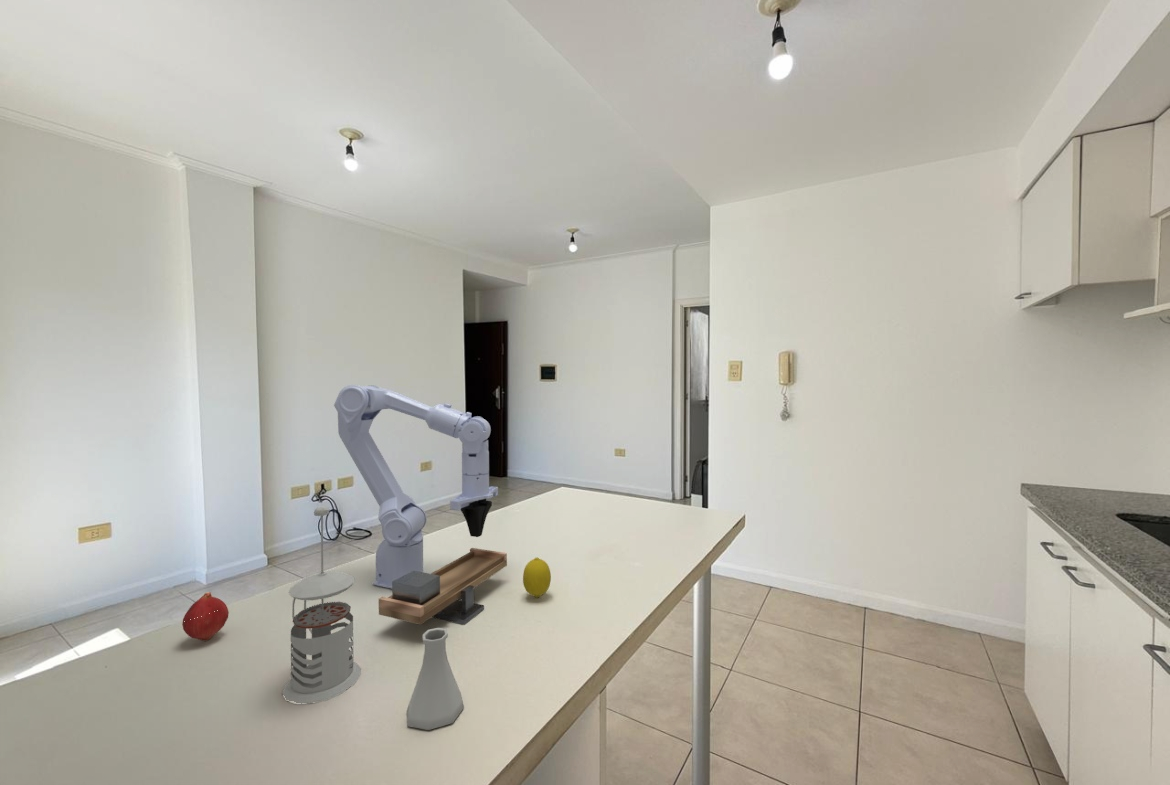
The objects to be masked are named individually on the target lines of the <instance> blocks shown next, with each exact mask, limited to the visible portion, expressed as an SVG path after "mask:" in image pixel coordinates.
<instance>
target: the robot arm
mask: <svg viewBox="0 0 1170 785" xmlns="http://www.w3.org/2000/svg"><path fill="white" fill-rule="evenodd" d="M333 407H334V408H335V409H336V411H337V427H338V428H337V430H338V432H337V433H338V436H339V438H340V440H341V441H342V443H343V445H344V447H345V448H346V450H347V451H348V454H349V455H350V458H352V461H353V462H354V464H355V466H356V468H357V469H358V472H359V473H360V475H361V476H362V478H363V480H364V481H365V482H364V483H366V485H367V487H368V489H369V490H370V492H371V494H372V496H373V497H374V499H375V502H376V503H377V504H378V506H379V509H378V510H379V511H378V517H377V518H378V521H379V522H380V525H381V533H382V536H383V540H381V542H380V544H378V546H377V549H376V552H375V580H374V581H373V582H372V585H373V586H377V587H382V588H387V589H391V590H392V581H394V580H396V579H398V578H400V577H402V576H404V575H406V574H408V573H410V572H412V571H418V572H424V535H423V534H422V530H423V529H424V528H425V526H426V524H427V518H428V516H427V514H426V512H425V510H424V509H423V508H422V507H421V506H419V505H417V504H416V502H415V501H414V499H413V498H412V497H411V496H410V495H408V494H406V493H404V492H403V490H402V487H401V486H400V484H399V482H398V481H397V478H396V477H395V476H394V474H393V472H392V471H391V468H390V467H389V465H388V463H387V462H386V460H385V458H384V456H383V454H382V452H381V451H380V449H379V447H378V446H377V444H376V442H375V441H374V439H373V437H372V435H371V433H370V428H371V427H372V424H373V421H374V419H375V418H376V417H377V416H378V415H379V414H380V413H381V411H382V410H388V409H389V410H393V411H396V412H399V413H402V414H405V415H408V416H410V417H413V418H414V417H415V418H417V419H420V420H423V421H425V423H426V425H427V426H428V429H430V430H433V431H436V432H439V433H441V434H444V435H447V436H449V437H452V438H454V439H459V440H460V442H461V444H462V445H461V447H462V448H461V449H462V450H461V494H459V495H458V496H456V497H455V498H453V499H451V500H449V505H450V506H449V508H450V509H449V510H450V511H455V512H456V511H457V512H458V511H460V512H461V514H462V515H463V517H464V519H465V521H466V524H467V528H468V531H469V535H470V537H475V538H479V537H481V536H482V535H483V530H484V527H485V526H484V525H485V523H486V519H487V516H488V514H489V511H490V510H491V508H492V504H493V503H492V501H491V500H489V499H492V498H494V497H497V496H499V487H498V486H490V451H489V439H488V438H490V435H491V431H492V429H491V425H490V423H489V421H487V420H486V419H484V418H483V417H482V416H478V415H477V416H473V417H472V412H470V411H467V412H463V411H460V410H458V409H455V408H452V404H449V403H447V402H446V403H444V404H442V403H438V404H436V405H434V406H430V405H428V404H426V403H423V402H421V401H419V400H416V399H414V398H411V397H408V396H407V395H404V394H401V393H400V392H397V391H394V390H392V389H389V388H384V387H379V386H376V385H358V384H357V385H356V384H350V385H347V386H344V387H343V388H342V389H341V390H340V391H339V393H338V395H337V397H336V399H335V401H334V404H333ZM487 499H488V500H487Z"/></svg>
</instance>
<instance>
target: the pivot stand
mask: <svg viewBox="0 0 1170 785" xmlns="http://www.w3.org/2000/svg"><path fill="white" fill-rule="evenodd" d="M474 590H475V588H474V586H471V585H469V586H467V587H466V588H464V589H463V590H461V600H460V599H457V600H456V601H454V602H453V603H451V604H450V605H448V606H447V607H445V608H444V609H443V610H441V611H440V612H438V613H437V614H435V615H434V616H432V617H431V618H432V619H433V618H434V619H437V620H442V621H447V622H450V623H454V624H460V625H462V626H463V625H464V626H465V625H466V624H467V623H469V622H470V621H471V620H473V618H475V617H476V616H477V615H479V614H480V613H481V612H483V611H485V605H484V604H480V603H475V595H474V594H475V592H474Z"/></svg>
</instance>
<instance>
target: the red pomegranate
mask: <svg viewBox="0 0 1170 785" xmlns="http://www.w3.org/2000/svg"><path fill="white" fill-rule="evenodd" d="M217 610H218V611H217ZM214 611H215V612H214ZM209 613H210V614H209ZM229 613H230V612H229V608H228V606H227V604H226V603H225V601H223V600H222V599H220V598H218V597H215V596H212V593H211V592H210V591H207V592H205V593H204V594H203V595H201V597H200V598H199V599H197V600H195V602H193V603H192V605H190V607H189V608H188V610H187V611H186V613H185V614H184V616H183V618H182V630H183V631H184V633H185V634H186V635H187V636H188V637H191V638H192V639H196V640H200V641H204V642H206V641H210V640H211V639H212V638H213V637H214V636H215V635H216V634H217V633H219V631H221V629H223V627H224V626H225V624H226V622H227V620H228V618H229ZM201 616H202V617H201ZM197 617H198V618H197ZM194 618H195V619H194ZM190 619H191V620H190ZM184 621H185V622H184Z"/></svg>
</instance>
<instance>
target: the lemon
mask: <svg viewBox="0 0 1170 785" xmlns="http://www.w3.org/2000/svg"><path fill="white" fill-rule="evenodd" d="M551 574H552V573H551V569H550V566H549V564H548V563H547V562H546V561H545V560H543V559H542V558H539V557H535V558H534V559H531V560H530V561H528V562H527V564H526V565H525V567H524V570H523V574H522V584H523V587H524V589H525V591H526V592H527V593H528V594H529V595H530V596H532V597H534V598H536V599H539V598H540V597H541V596H543V595H544V594H545V593H546V592H548V590H549V588H550V587H551V586H550V585H551V580H552V575H551Z"/></svg>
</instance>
